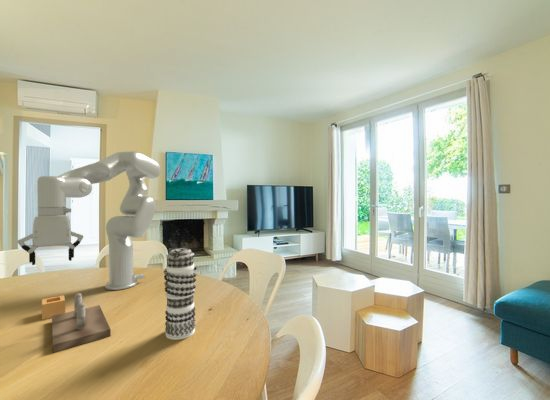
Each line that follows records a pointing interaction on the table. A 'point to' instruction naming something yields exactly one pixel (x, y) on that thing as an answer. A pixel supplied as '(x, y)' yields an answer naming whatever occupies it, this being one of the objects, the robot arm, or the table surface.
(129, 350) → the table surface
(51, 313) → the collar
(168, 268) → the decorative candle
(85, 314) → the post board
